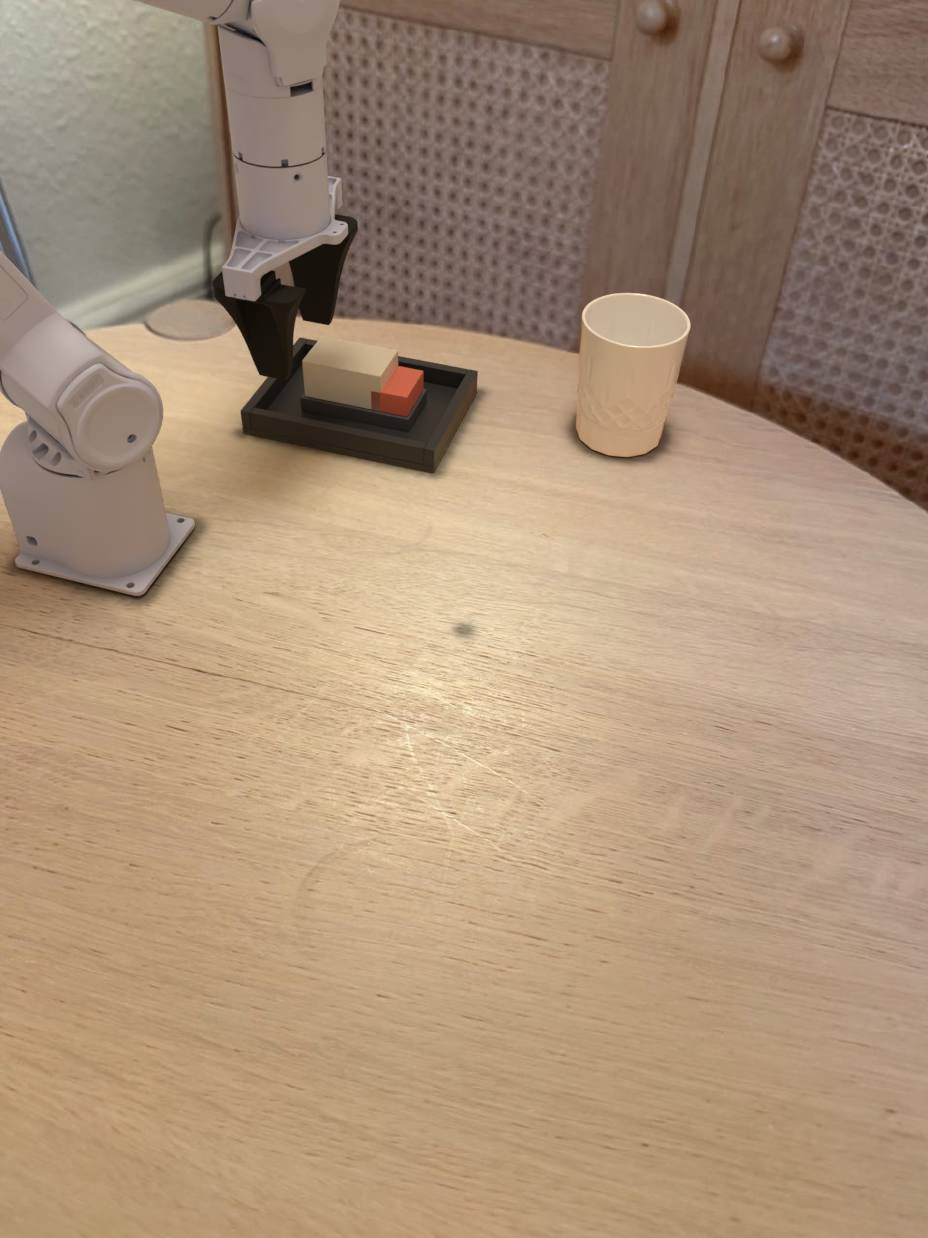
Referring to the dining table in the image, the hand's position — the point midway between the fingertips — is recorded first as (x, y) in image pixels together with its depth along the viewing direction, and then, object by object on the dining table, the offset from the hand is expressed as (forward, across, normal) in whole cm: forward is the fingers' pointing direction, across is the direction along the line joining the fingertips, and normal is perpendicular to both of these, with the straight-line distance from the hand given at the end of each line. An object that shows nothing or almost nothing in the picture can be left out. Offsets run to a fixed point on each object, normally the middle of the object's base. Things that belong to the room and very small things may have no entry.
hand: (296, 346), depth 76 cm
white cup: (+10, +11, -22) cm, 26 cm away
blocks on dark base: (+9, +7, -2) cm, 11 cm away
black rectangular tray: (+9, +7, -2) cm, 12 cm away
